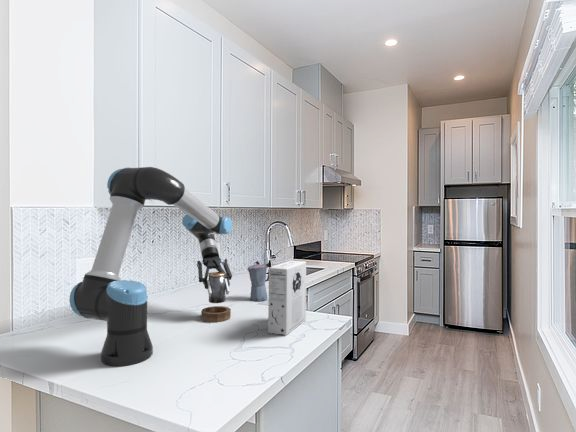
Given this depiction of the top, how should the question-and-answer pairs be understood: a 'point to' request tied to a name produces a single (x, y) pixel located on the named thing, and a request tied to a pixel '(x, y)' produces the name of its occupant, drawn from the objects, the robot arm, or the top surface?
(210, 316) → the wooden bowl
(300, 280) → the cereal box
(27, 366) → the top surface
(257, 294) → the moka pot
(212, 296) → the canister
